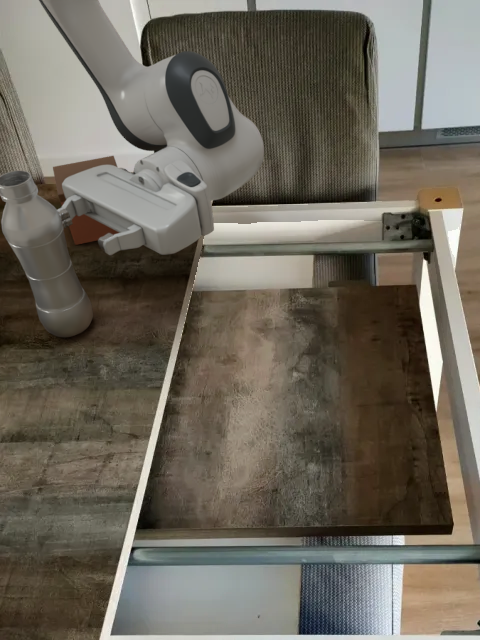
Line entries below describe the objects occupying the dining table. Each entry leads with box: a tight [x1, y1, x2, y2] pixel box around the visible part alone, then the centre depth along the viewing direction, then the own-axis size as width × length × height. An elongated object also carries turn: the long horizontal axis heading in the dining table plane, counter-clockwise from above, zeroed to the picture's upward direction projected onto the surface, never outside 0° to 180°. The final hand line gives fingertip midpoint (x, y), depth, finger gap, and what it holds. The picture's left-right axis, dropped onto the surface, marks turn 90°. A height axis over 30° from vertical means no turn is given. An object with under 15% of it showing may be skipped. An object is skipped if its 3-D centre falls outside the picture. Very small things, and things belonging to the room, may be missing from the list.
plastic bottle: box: [0, 169, 94, 338], centre depth 77 cm, size 6×7×20 cm
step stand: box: [52, 155, 119, 246], centre depth 98 cm, size 9×9×8 cm
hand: (78, 234), depth 79 cm, fingers open, 8 cm apart
